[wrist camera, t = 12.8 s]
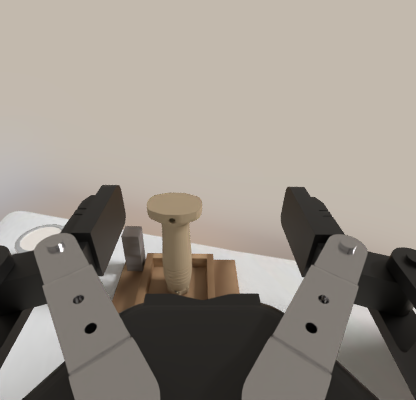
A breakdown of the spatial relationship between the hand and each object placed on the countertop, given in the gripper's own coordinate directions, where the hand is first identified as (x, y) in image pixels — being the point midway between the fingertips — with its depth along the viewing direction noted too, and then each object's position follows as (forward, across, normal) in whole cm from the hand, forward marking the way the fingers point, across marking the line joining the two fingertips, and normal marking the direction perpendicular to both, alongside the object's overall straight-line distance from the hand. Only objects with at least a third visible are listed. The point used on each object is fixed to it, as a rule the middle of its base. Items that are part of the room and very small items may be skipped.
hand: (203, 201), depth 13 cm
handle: (+15, +4, +25) cm, 29 cm away
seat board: (+15, +4, +26) cm, 30 cm away
